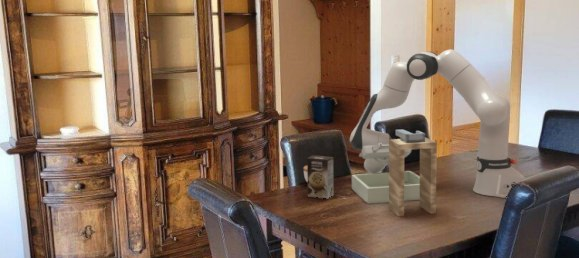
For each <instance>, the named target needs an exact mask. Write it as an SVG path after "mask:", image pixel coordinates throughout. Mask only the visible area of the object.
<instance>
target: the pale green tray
mask: <svg viewBox="0 0 579 258" xmlns="http://www.w3.org/2000/svg"><path fill="white" fill-rule="evenodd" d="M351 190H352V191H354V192H355V194H356V195H357V196H359V197H360V198H361V199H362V200H363V201H364V202H365V203H366V204H367V205H369V204H380V203H381V204H382V203H383V204H384V203H389V171H388V172H387V171H386V172H385V171H384V172H378V173H360V174H359V173H358V174H351ZM419 195H420V175H418V174H416V173H415V172H413V171H411V170H404V202H407V201H419Z"/></svg>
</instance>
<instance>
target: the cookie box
mask: <svg viewBox="0 0 579 258" xmlns="http://www.w3.org/2000/svg"><path fill="white" fill-rule="evenodd" d="M306 161H307V163H306V164H307V165H306V166H307V172H308V182H307V197H308V198H316V197H318V198H317V199H323V198H326V200H328V199H330V198H332V197H333V196H334V157H333V156H323V155H315V154H313V155H311V156H309V157H307V160H306ZM331 196H332V197H331ZM329 197H330V198H329Z"/></svg>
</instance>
